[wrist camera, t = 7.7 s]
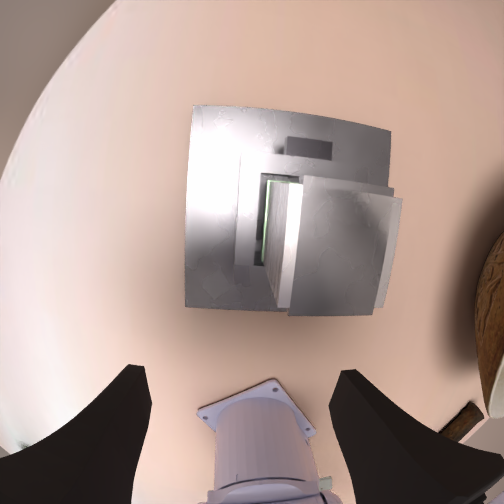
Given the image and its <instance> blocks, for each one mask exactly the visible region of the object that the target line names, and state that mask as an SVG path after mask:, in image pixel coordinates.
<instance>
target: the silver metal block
mask: <svg viewBox="0 0 504 504" xmlns="http://www.w3.org/2000/svg"><path fill="white" fill-rule="evenodd" d="M393 195H394V188H390V187H384V186H378V185H372V184H366V183H360V182H353V181H346V180H339V179H332V178H324V177H316V176H307V175H300V176H299V183H295V182H284V181H273V180H267V182H266V195H265V208H264V221H263V233H262V245H261V258H260V259H261V262H263V264H264V267H265V270H266V273H267V276H268V279H269V282H270V285H271V288H272V292H273V295H274V298H275V301H276V304H277V307H278V308H286V311H287V313H288V316H358V315H372V313H373V309H374V308H383V305H384V301H385V297H386V292H387V288H388V284H389V279H390V274H391V269H392V264H393V259H394V254H395V248H396V242H397V236H398V230H399V223H400V215H401V208H402V199H401V198H396V197H393Z"/></svg>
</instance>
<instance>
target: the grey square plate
mask: <svg viewBox="0 0 504 504" xmlns="http://www.w3.org/2000/svg"><path fill="white" fill-rule="evenodd" d="M390 149H391V131H388V130H384V129H380V128H376V127H372V126H368V125H364V124H359V123H354V122H350V121H345V120H340V119H334V118H329V117H323V116H317V115H311V114H304V113H297V112H290V111H282V110H273V109H262V108H251V107H236V106H213V105H193V114H192V125H191V136H190V149H189V163H188V179H187V199H186V227H185V307H193V308H208V309H226V310H248V311H280V312H287V311H286V308H278V307H277V304H276V301H275V298H274V295H273V292H272V288H271V285H270V282H269V279H268V276H267V273H266V270H265V267H264V264H263V262H261V259H260V258H261V245H262V233H263V221H264V208H265V195H266V182H267V180H273V181H284V182H295V183H299V176H300V175H307V176H316V177H324V178H332V179H339V180H346V181H353V182H360V183H366V184H372V185H378V186H384V187H388V178H389V165H390Z"/></svg>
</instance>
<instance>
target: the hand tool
mask: <svg viewBox="0 0 504 504" xmlns="http://www.w3.org/2000/svg"><path fill="white" fill-rule="evenodd" d="M483 419H484V415H483V413H482V412H481V410H480V409H479V408H478V407H477V406H476V405H475V404H473V403H472V402H469V404H468V407H467V408H465V409H463V410H462V412H461V414H460V415H459V416H458V417H457V418H456V419H455V420H454V421H453V422H452V423H451V424H450V425H449V426H448V427H447V428H446V429H445V430H444V431H443V432H442V433H441V435H443V436H445V437H447V438H449V439H451V440H453V441H456V442H459V441H460V440H461V439H462V438H463V437H464V436H465V435H466V434H467V433H468V432H469V431H470V430H471V429H472V428H473V427H474V426H475V425H476V424H477V423H478V422H480V421H481V420H483Z"/></svg>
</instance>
